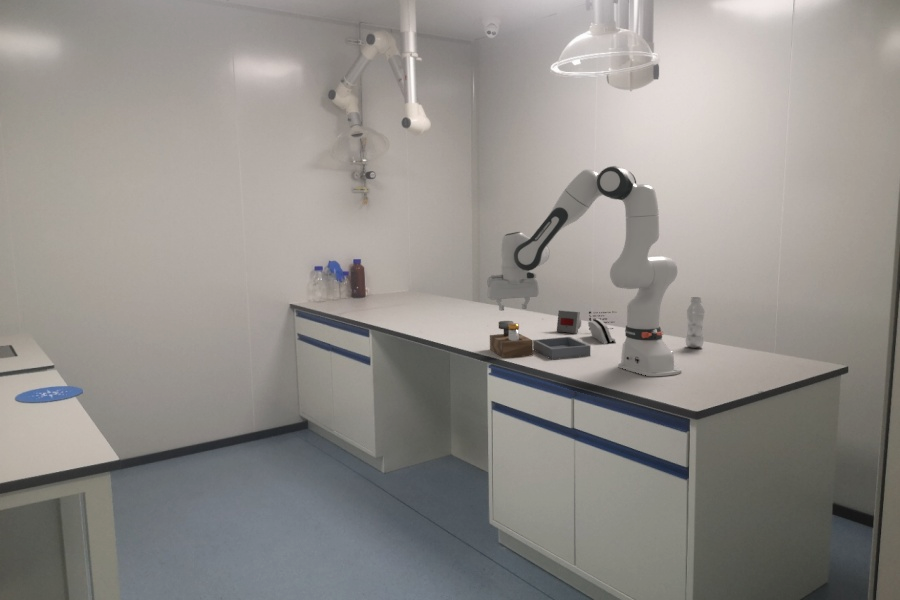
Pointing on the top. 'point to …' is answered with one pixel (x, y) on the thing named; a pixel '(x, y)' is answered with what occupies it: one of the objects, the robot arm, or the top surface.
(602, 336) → the black-striped white block
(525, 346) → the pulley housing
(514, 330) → the gold-capped glass vial
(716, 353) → the top surface
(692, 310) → the plastic bottle
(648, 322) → the robot arm
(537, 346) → the tray
